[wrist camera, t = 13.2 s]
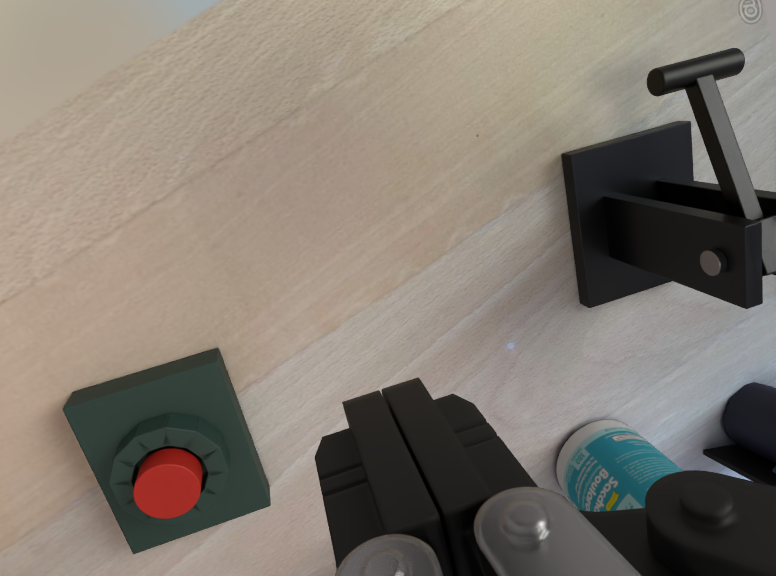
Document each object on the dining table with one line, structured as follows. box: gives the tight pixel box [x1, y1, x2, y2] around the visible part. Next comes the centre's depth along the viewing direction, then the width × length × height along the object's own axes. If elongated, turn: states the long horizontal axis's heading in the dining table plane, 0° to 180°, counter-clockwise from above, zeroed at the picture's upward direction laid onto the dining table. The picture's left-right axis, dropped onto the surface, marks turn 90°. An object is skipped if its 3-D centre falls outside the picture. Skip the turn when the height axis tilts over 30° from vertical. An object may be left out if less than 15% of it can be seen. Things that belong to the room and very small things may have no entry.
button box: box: [63, 348, 271, 554], centre depth 35 cm, size 11×9×4 cm
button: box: [133, 448, 203, 519], centre depth 33 cm, size 4×4×2 cm
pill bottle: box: [556, 420, 683, 512], centre depth 40 cm, size 8×7×14 cm
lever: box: [647, 48, 776, 276], centre depth 30 cm, size 12×5×2 cm, turn 13°
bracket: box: [562, 121, 776, 309], centre depth 34 cm, size 11×9×13 cm
